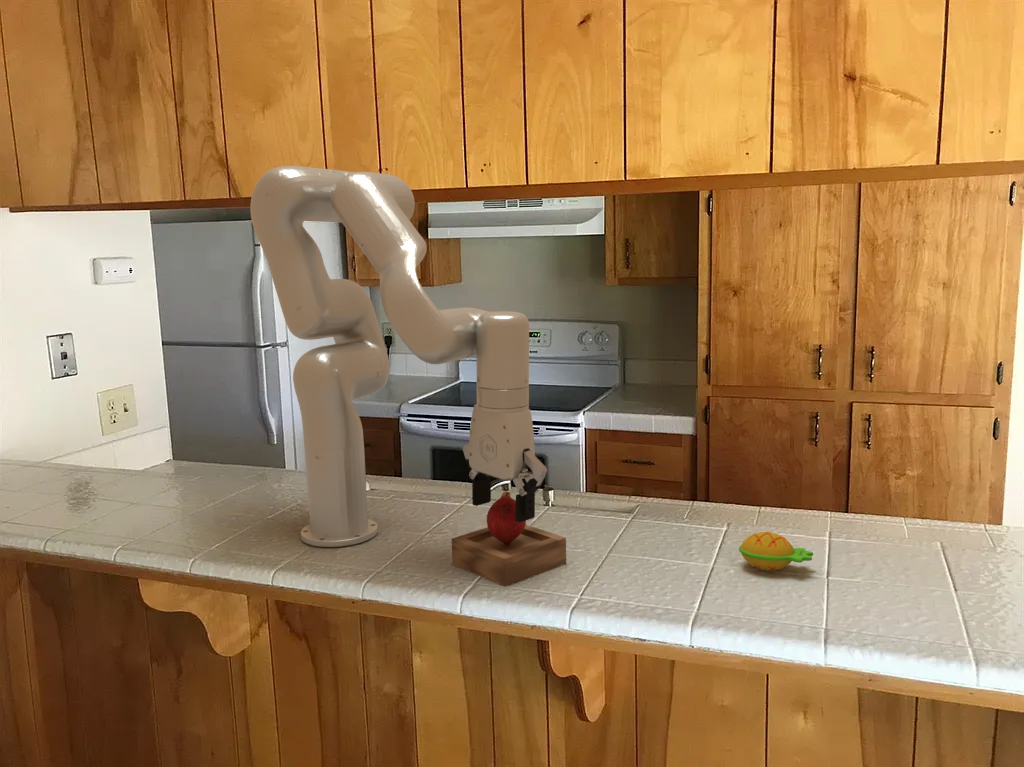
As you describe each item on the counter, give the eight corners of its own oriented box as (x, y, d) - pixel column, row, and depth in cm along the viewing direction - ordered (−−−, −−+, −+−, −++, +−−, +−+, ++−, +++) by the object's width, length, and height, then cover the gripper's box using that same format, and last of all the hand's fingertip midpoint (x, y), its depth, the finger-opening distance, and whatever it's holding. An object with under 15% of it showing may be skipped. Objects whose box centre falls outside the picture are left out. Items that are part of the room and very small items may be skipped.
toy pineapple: (742, 557, 125) (743, 522, 125) (814, 566, 121) (815, 530, 121) (735, 574, 119) (735, 537, 118) (810, 583, 115) (811, 546, 114)
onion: (522, 551, 122) (520, 498, 120) (483, 550, 123) (481, 497, 122) (529, 538, 127) (528, 487, 126) (492, 536, 128) (490, 485, 127)
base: (452, 564, 126) (451, 538, 125) (512, 544, 134) (511, 519, 133) (505, 586, 117) (504, 559, 116) (566, 563, 125) (565, 537, 124)
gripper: (445, 392, 125) (446, 503, 128) (524, 410, 113) (523, 532, 116) (484, 386, 130) (484, 493, 133) (563, 403, 118) (562, 520, 121)
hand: (502, 511), depth 124 cm, fingers open, 9 cm apart
